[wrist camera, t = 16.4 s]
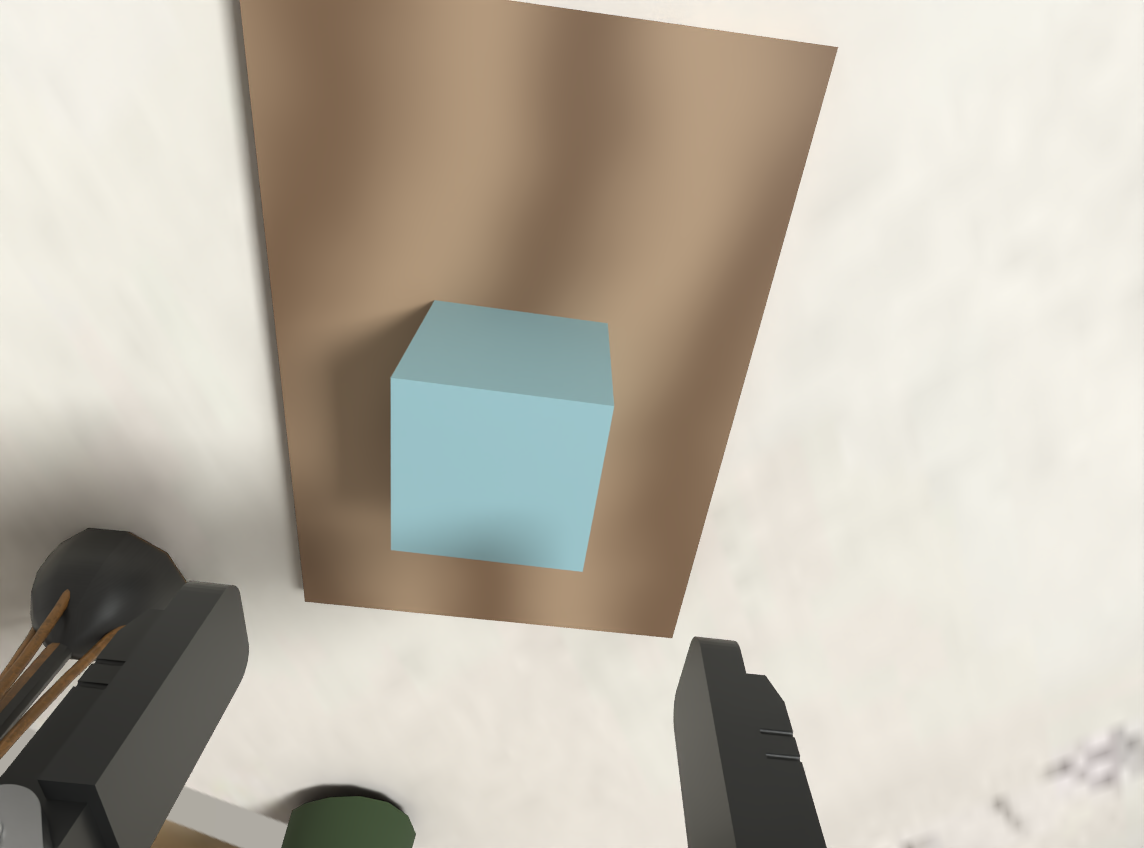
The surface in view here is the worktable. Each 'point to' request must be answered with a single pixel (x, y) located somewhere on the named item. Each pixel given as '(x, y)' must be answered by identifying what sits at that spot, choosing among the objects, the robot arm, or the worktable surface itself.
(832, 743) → the worktable surface
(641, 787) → the worktable surface
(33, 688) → the wooden tabletop sculpture
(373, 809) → the character mug
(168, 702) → the robot arm
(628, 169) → the walnut board
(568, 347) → the teal cube
